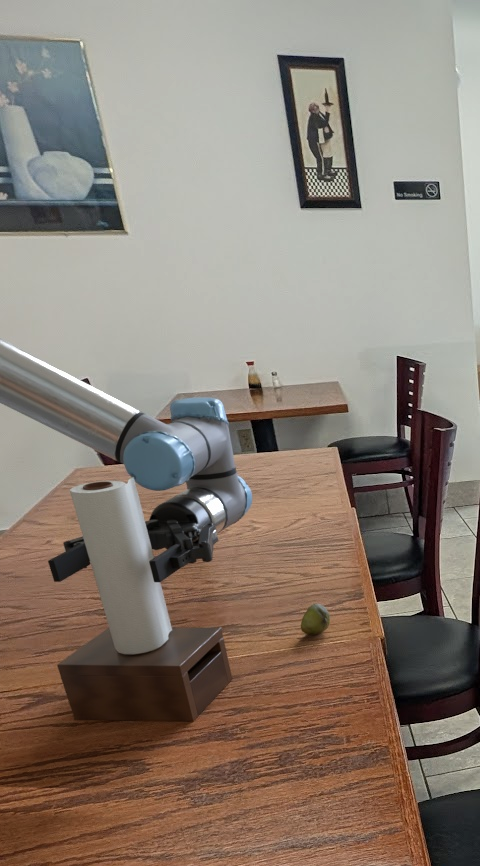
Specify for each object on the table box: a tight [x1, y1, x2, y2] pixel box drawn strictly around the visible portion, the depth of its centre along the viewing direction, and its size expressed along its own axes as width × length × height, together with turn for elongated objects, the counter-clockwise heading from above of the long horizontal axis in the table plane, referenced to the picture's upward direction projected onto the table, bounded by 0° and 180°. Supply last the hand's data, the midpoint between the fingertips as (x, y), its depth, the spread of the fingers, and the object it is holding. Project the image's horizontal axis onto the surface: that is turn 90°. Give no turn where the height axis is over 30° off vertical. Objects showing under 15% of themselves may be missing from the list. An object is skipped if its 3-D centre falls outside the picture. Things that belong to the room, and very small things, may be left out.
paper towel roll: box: [69, 477, 173, 654], centre depth 103 cm, size 7×6×21 cm
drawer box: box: [56, 626, 233, 722], centre depth 110 cm, size 16×12×8 cm
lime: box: [300, 603, 331, 636], centre depth 129 cm, size 4×5×5 cm
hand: (103, 571), depth 100 cm, fingers open, 12 cm apart
